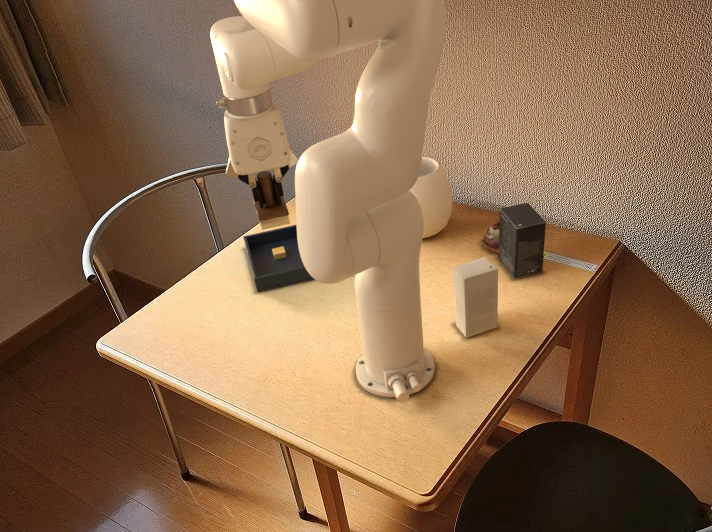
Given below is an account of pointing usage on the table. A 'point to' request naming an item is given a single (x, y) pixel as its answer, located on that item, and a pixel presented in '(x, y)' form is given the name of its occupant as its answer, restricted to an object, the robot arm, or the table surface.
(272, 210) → the peg on plate
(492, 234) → the pastry
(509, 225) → the box
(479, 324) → the cosmetic box
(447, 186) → the white vase
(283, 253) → the tan square block
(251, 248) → the tray
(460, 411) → the table surface
